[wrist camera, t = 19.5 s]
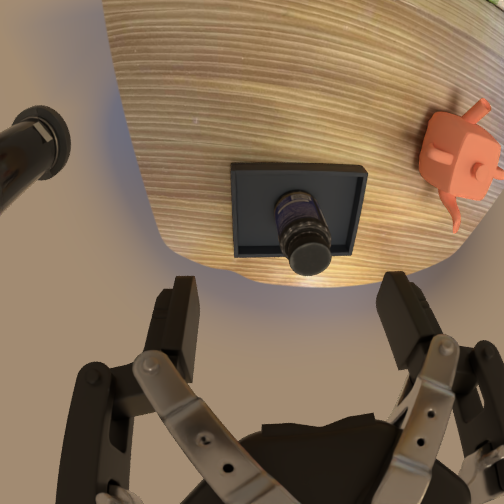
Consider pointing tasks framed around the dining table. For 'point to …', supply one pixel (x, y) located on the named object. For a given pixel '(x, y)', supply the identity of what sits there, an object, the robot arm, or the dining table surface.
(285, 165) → the tray
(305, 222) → the pill bottle
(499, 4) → the dish towel
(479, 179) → the teapot
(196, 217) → the dining table surface
